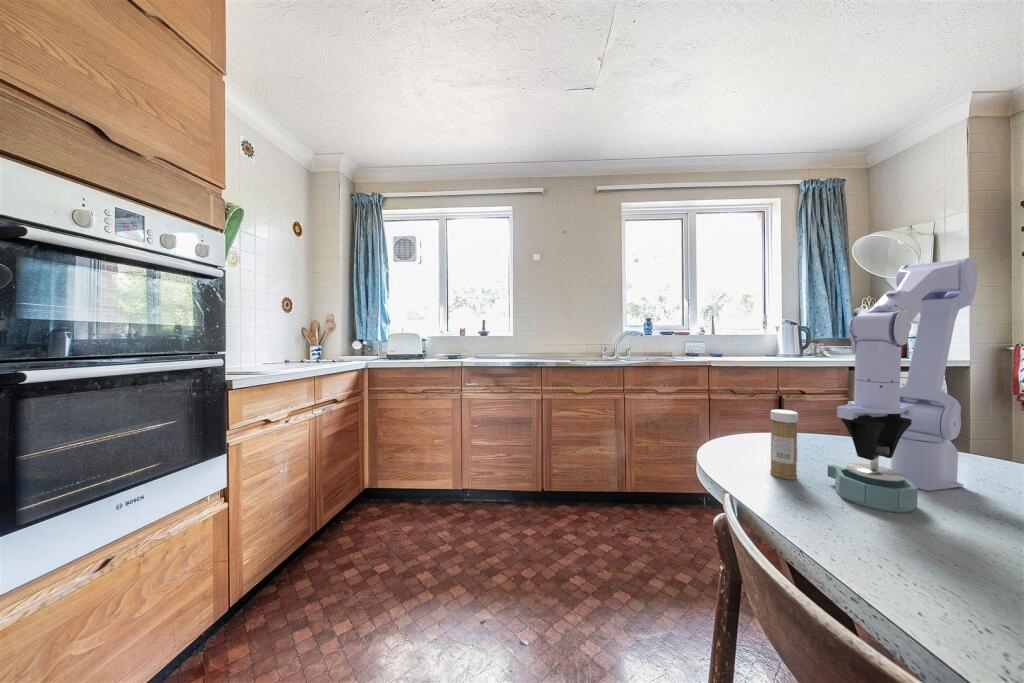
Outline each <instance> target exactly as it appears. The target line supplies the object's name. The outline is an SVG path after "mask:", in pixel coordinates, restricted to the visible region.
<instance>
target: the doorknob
mask: <svg viewBox="0 0 1024 683" xmlns="http://www.w3.org/2000/svg"><path fill="white" fill-rule="evenodd" d="M883 456H889V446H888V445H886V444H882V443H877V447H876V454H875V457H874V459H873V460H869V461H870V464H868V463H860V462H858V463H857V462H856V463H854V462H853V463H848V464H846V468H847V470H848V471H849V472H851V473H853V474H855V475H858V476H861V477H864V478H868V479H872V480H877V481H884V482H902V481H903V480H904V476H903V475H902V474H901V473H899V472H897V471H894V470H891V468H887V467H884V466H880V465H879V457H883Z"/></svg>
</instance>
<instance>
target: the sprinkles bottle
mask: <svg viewBox="0 0 1024 683" xmlns="http://www.w3.org/2000/svg"><path fill="white" fill-rule="evenodd" d="M798 422H799V413H798V412H797V411H794V410H787V409H771V410H770V423H771V426H770V427H771V428H770V431H771V433H770V470H769V471H770V475H772V476H774V477H777V478H778V479H783V480H789V481H790V480H796V479H797V478H798V475H797V463H798V446H797V445H798V437H797V436H798Z"/></svg>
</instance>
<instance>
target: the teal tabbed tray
mask: <svg viewBox="0 0 1024 683" xmlns="http://www.w3.org/2000/svg"><path fill="white" fill-rule="evenodd" d="M827 477H828V478H832V479H834V481H835V482H834V485H835V492H836V494H837V495H838V496H839V497H841V498H842V499H844V500H846V501H848V502H850V503H854V504H856V505H859V506H862V507H865V508H869V509H873V510H876V511H881V512H882V511H883V512H888V513H895V514H896V513H898V514H907V513H908V514H909V513H913V512H914V511H915V510H916V507H918V492H919V490H918V489H919V488H917V487H916V486H915V485H914V484H913V483H912V482H911V481H910V480H908V479H904V480H903V481H902V482H884V481H877V480H872V479H868V478H864V477H861V476H858V475H855V474H853V473H851V472H849V471H848V470H847V467H842V466H839V465H836V464H828V465H827Z"/></svg>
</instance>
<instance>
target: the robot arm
mask: <svg viewBox="0 0 1024 683" xmlns="http://www.w3.org/2000/svg"><path fill="white" fill-rule="evenodd" d="M977 266H978V265H977V264H976V261H974V260H973V259H972V258H970V257H964V258H961V259H953V260H944V261H943V260H942V261H937V262H927V263H918V264H904V265H902V266H901V267H900V268H899V269H898V271H897V273H896V277H895V282H896V283H895V284H896V290H888V291H887V292H886V293H884V294H883V295H882V296H881V297H880V298H879V299H878V300H877V302H875V304H874V305H873V306H871V308H869V310H868V311H867V312H860V313H859V314H857V315H855V316H853V317H852V318H851V319H850V322H849V327H848V328H847V329H848V338H849V340H850V343H851V352H852V354H855V355H854V356H855V357H854V358H855V359H854V390H853V391H854V392H853V393H854V395H853V401H851V400H850V401H849V400H848V401H847V404H844V405H839V406H837V411H836V412H837V413H836V415H837V416H836V417H837V418H840V419H841V421H842V423H843V424H844V425H845V427H846V428H847V431H848V432H849V435H850V436H851V439H852V442H853V445H854V449H855V452H856V455H857V457H858V458H861V459H866V460H869V461H871V460H873V459H874V457H875V454H876V447H877V443H882V444H886V445H888V446H889V456H882V457H883V458H885V459H886V458H887V459H890V469H891V470H894V471H897V472H899V473H901V474H902V475H903V476H904V479H908V480H910V481H911V482H912V483H913V484H914V485H915V486H916V487H917V488H918V489H921V490H924V491H928V492H930V491H936V490H946V489H954V488H960V487H961V488H962V487H964V485H965V484H964V483H962V482H958V468H959V466H958V465H959V462H958V461H959V452H958V448H956V446H955V445H954V443H953V442H951V441H953V440H954V439H956V438H957V437H958V436H959V434H960V431H961V427H962V418H961V416H962V415H961V414H962V413H961V411H962V406H961V404H960V402H959V401H958V399H956V398H954V397H953V396H951V395H950V394H949V393H947V392H945V391H944V390H942V389H943V385H944V379H945V376H946V375H945V374H946V368H947V364H948V358H949V355H950V354H949V353H950V349H951V343H952V337H953V332H954V328H955V323H956V320H957V316H958V314H959V312H960V310H962V309H964V308H967V307H968V306H971V305H972V304H973V299H974V298H975V294H976V289H977V284H978V278H979V277H978V267H977ZM919 314H920V316H919V321H918V325H917V331H916V335H915V340H914V344H913V350H912V353H911V358H910V362H909V369H908V374H907V378H906V383H905V384H904V385H902V386H901V370H902V368H901V367H902V366H901V365H902V346H903V345H905V344H906V343H908V339H909V336H910V331H911V330H912V326H913V325H912V321H914V319H915V318H916V317H917V316H918V315H919Z"/></svg>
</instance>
